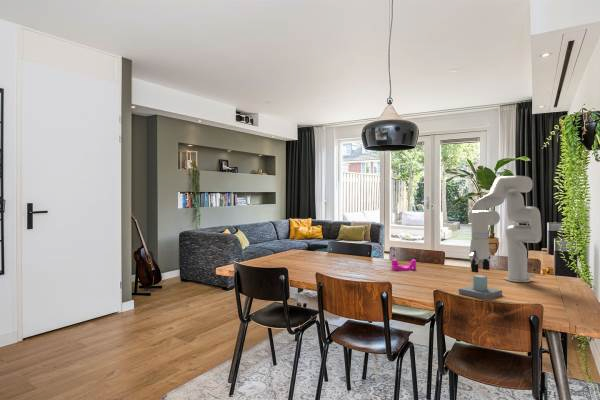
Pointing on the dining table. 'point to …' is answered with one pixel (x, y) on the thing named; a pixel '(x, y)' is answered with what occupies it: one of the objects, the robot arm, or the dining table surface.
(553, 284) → the dining table surface
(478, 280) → the peg
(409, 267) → the toy block
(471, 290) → the socket
